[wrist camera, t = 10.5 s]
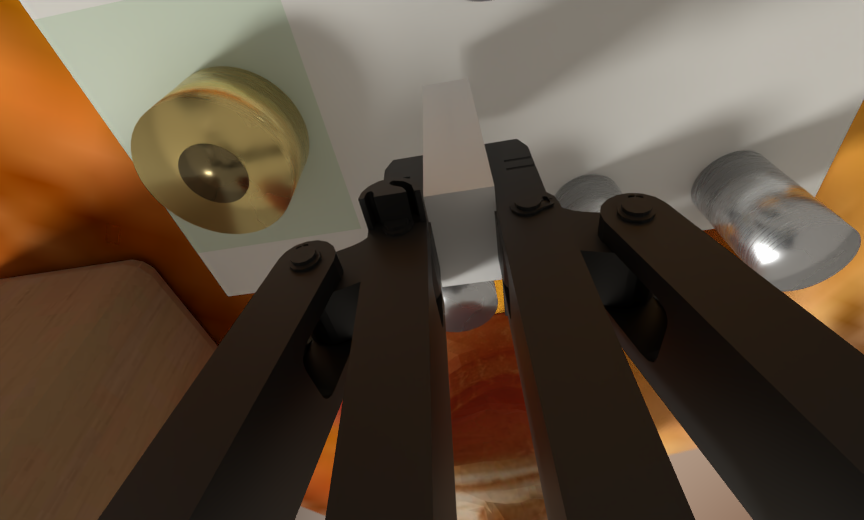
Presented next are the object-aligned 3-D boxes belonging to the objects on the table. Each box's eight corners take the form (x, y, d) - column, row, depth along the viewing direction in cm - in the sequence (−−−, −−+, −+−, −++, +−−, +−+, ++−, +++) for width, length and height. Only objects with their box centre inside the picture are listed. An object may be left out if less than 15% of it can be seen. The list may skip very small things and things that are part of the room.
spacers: (327, -140, 11) (280, -152, 8) (1047, -313, 10) (1442, -437, 6) (423, 253, 21) (423, 336, 17) (802, 199, 19) (896, 277, 15)
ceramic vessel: (621, 232, 21) (845, 621, 10) (599, 458, 38) (673, 697, 27) (356, 278, 23) (294, 654, 12) (447, 475, 40) (458, 706, 29)
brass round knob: (141, 92, 15) (91, 128, 13) (264, 45, 14) (235, 76, 12) (225, 203, 18) (198, 248, 16) (331, 171, 18) (318, 214, 15)
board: (-24, -102, 12) (-52, -101, 12) (1057, -374, 10) (1110, -397, 9) (234, 282, 23) (227, 296, 22) (791, 203, 20) (805, 215, 19)
